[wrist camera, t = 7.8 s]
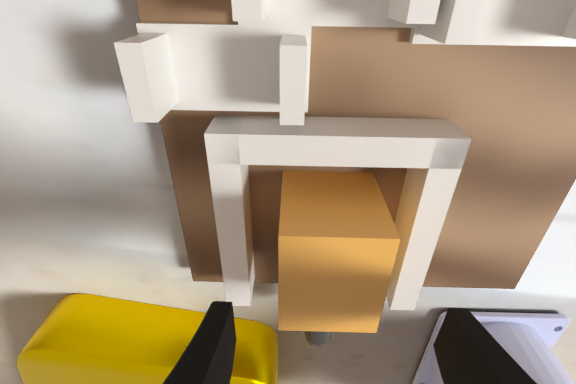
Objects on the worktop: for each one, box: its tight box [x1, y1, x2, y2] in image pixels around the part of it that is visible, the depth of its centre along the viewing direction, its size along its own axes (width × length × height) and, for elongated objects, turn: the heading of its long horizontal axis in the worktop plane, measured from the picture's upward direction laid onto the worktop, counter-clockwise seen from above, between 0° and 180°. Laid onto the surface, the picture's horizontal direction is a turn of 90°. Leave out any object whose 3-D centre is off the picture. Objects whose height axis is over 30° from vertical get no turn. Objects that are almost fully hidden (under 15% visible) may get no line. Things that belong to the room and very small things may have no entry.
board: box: [136, 0, 576, 289], centre depth 14 cm, size 16×18×1 cm
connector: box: [278, 170, 401, 347], centre depth 15 cm, size 9×4×4 cm, turn 179°
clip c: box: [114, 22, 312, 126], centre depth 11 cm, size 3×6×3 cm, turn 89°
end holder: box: [204, 115, 472, 310], centre depth 15 cm, size 9×9×2 cm
